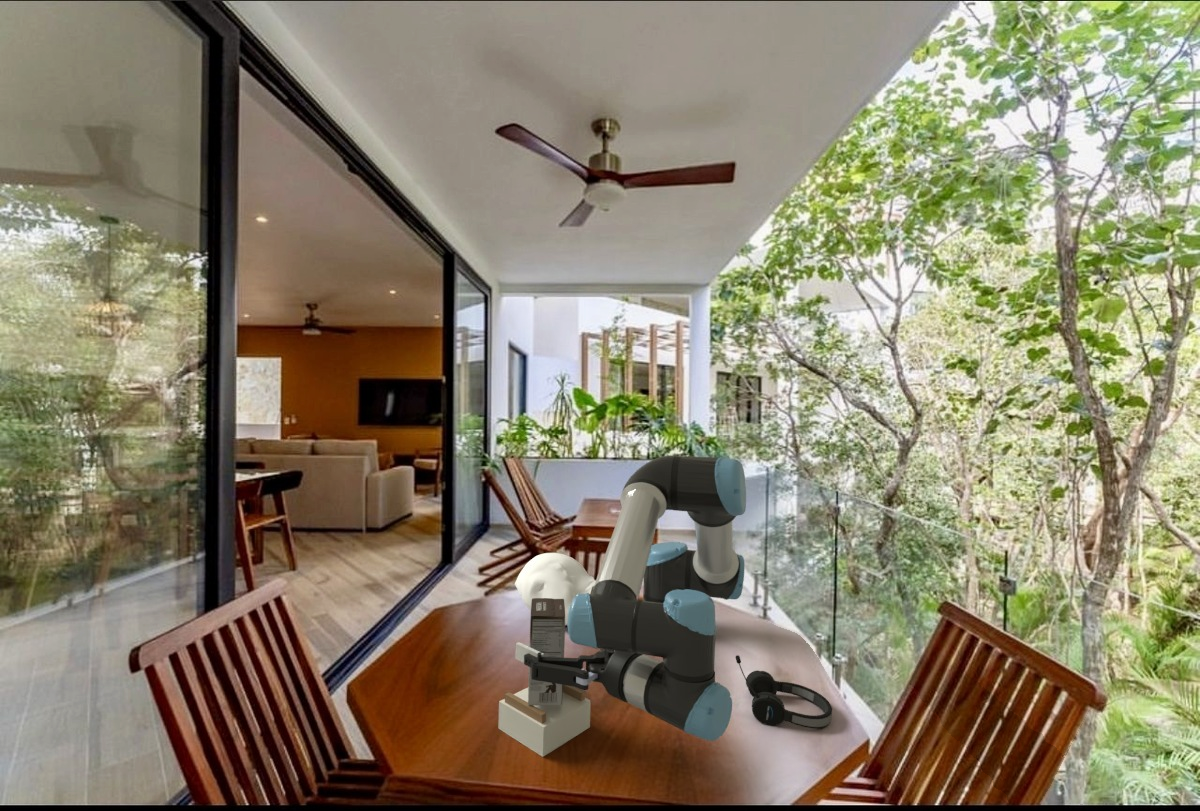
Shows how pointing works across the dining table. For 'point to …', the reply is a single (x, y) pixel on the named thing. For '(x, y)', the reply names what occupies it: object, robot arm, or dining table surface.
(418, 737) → the dining table surface
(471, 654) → the dining table surface
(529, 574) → the head sculpture
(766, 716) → the headset
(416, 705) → the dining table surface
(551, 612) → the coffee box
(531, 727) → the plinth
